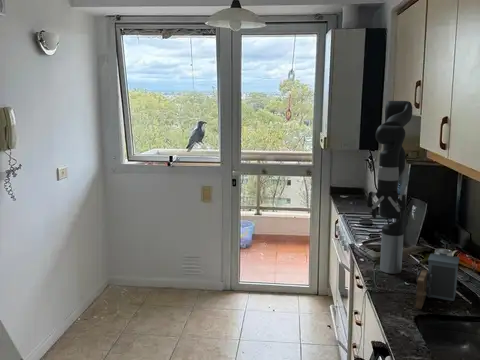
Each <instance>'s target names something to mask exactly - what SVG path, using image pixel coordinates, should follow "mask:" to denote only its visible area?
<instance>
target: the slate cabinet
mask: <svg viewBox="0 0 480 360" xmlns="http://www.w3.org/2000/svg"><path fill="white" fill-rule="evenodd" d="M427 258H428V259H427V263H428V267H427V271H428V272H427V286H426V293H427V294H426V297H428V298H434V299H435V298H436V299H439V300H440V299H441V300H445V301H450V302H452V301H453V302H455V300H456V299H455V298H456V294H457V282H458V272H459V271H458V269H459V262H460V257H459V256H453V255H452V256H446V255H439V254H435V253H433V252H431V253H430V254H429V256H428V257H427ZM420 273H421V271H417V274H416V283H417V281H418V278H419V276H420ZM415 296H417V286H416V287H415Z"/></svg>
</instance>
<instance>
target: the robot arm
mask: <svg viewBox="0 0 480 360" xmlns="http://www.w3.org/2000/svg"><path fill="white" fill-rule="evenodd" d="M412 117H413V105H412V102H410V101H409V100H388V101H387V102H386V104H385V108H384V123H381V124H380V125H379V126H378V127H377V129H376V131H375V140H376V141H377V143H378V144H381V145H383V150H382V151H380V152H379V153H380V154H379V162H378V165H379V166H378V171H377V188H376V189H377V190H376V191H375V192H374V191H372V190H371V191H369V192H368V197H367V208H370V209H371V217H372V219H374V220H376V219H377V215H378V214H377V212H378V211H377V210H378V209H377V208H378V206H379V215H380V218H383V219H392V220H393V219H394V220H395V221H394V222H392V223H388V224H385V225H383V226H382V227H381V237H380V238H381V239H380V240H381V241H380V242H381V244H380V261H379V262H380V263H379V270H380V271H381V272H383V273H385V274H386V273H387V274H391V275H392V274H400V273H401V272H402V263H403V251H404V250H403V248H404V235H405V234H404V232H405V231H404V230H405V229H404V227H405V217H406V209H407V194H406V193H404V194H399V192H398V191H399V178H400V177H401V175H402V173H403V172H404V170H405V168H406V167H405V166H406V151H405V149H404V147H403V144H404V141H405V137H406V130H405V128H404V127H405V126H406V125H407V124H409V123H410V121H411V120H412ZM375 196H376V198H377V201H376V202H375V203H374V204H373V198H375Z"/></svg>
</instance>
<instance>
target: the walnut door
mask: <svg viewBox="0 0 480 360" xmlns="http://www.w3.org/2000/svg"><path fill="white" fill-rule="evenodd" d="M420 272H421V273H420V276H419V278H418V281H417V282H416V283H417V284H416V287H417V295H415V296H416V300H415V309H419V310H422V308H423V306H424V304H425V301H426V298H427V296H426V294H427V293H426V286H427V273H428V269H427V270H426V269H421V271H420Z"/></svg>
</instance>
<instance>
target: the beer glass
mask: <svg viewBox="0 0 480 360" xmlns="http://www.w3.org/2000/svg"><path fill="white" fill-rule="evenodd" d="M434 254H439V255H446V256H453V251H452V250H451V249H448V248H447V249H446V248H435V250H434Z"/></svg>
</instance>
